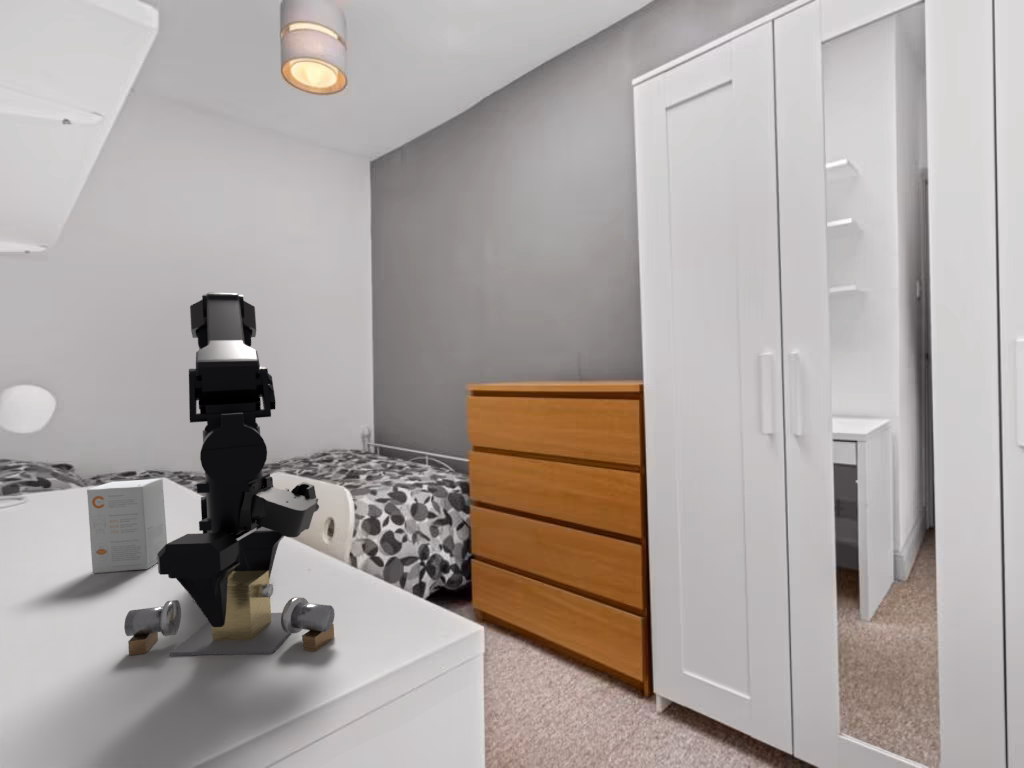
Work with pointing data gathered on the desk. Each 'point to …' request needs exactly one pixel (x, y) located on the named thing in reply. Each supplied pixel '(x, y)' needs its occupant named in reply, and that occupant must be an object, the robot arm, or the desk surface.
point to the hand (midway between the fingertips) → (241, 607)
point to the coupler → (245, 606)
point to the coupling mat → (234, 641)
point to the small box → (126, 524)
